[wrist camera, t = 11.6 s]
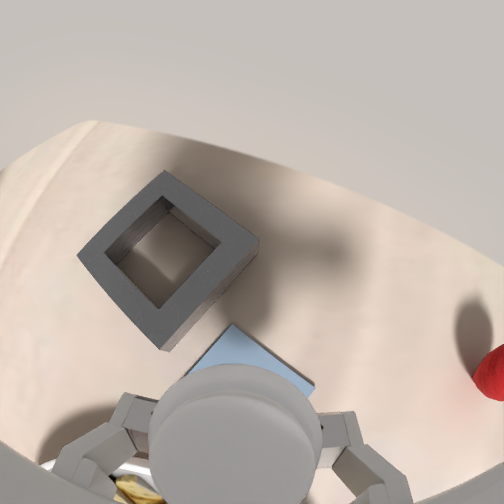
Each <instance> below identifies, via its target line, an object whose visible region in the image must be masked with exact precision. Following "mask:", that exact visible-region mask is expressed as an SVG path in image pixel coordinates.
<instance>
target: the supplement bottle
mask: <svg viewBox="0 0 504 504" xmlns="http://www.w3.org/2000/svg"><path fill="white" fill-rule="evenodd" d="M148 441H149V449H150V450H149V468H150V474H151V477H152V480H153V482H154V485H155V487H156V489H157V490H158V492H159V493H160V495H161V496H162V498H163V499H164V500H165V501H166V502H167V503H168V504H300V503H301V502H302V501H303V499H304V498H305V496H306V495H307V493H308V491H309V489H310V487H311V485H312V482H313V478H314V475H315V470H316V468H317V466H318V463H319V460H320V457H321V452H322V430H321V425H320V421H319V418H318V416H317V413H316V411H315V409H314V408H313V406H312V404H311V403H310V401H309V400H308V399H307V397H306V396H305V395H304V394H303V393H302V392H301V391H300V390H299V389H298V388H297V387H296V386H295V385H294V384H292V383H291V382H290V381H288V380H287V379H285V378H283V377H282V376H280V375H278V374H276V373H274V372H271V371H269V370H266V369H263V368H260V367H256V366H252V365H247V364H219V365H214V366H210V367H206V368H203V369H200V370H197V371H195V372H193V373H190V374H188V375H187V376H185V377H183V378H182V379H180V380H179V381H177V382H176V383H175V384H173V385H172V386H171V387H170V388H169V389H168V390H167V391H166V392H165V393H164V395H163V396H162V397H161V398H160V400H159V401H158V403H157V405H156V407H155V409H154V411H153V414H152V417H151V420H150V424H149V432H148Z"/></svg>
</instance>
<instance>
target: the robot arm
mask: <svg viewBox="0 0 504 504" xmlns="http://www.w3.org/2000/svg"><path fill="white" fill-rule="evenodd" d="M158 401H159V400H156V399H151V398H147V397H142V396H138V395H135V394H130V393H126V392H125V393H124V394H123V395H122V396H121V398H120V400H119V402H118V404H117V407H116V409H115V411H114V413H113V415H112V417H111V419H110V422H109V423H107V422H105V423H103V424H102V425H100V426H98V427H97V428H95V429H93V430H92V431H90V432H88V433H86V434H85V435H83V436H81V437H79V438H78V439H76V440H74V441H72V442H71V443H69V444H67V445H65V446H63V447H62V449H61V451H60V453H59V455H58V457H57V459H56V461H55V463H54V465H53V468H52V470H51V472H50V471H48V470H46V469H45V468H43V467H41V466H39V465H38V464H36V463H34V462H33V461H31V460H29V459H28V458H26V457H25V456H23V455H21V454H20V453H18V452H17V451H15V450H14V449H12V448H11V447H9V446H8V445H7V444H5V443H4V442H2V441H1V440H0V504H124V503H121V502H118V501H116V500H114V497H115V493H116V490H117V487H116V485H115V484H114V483H113V482H112V481H111V480H110V478H109V477H108V476H109V475H110V474H111V473H113V472H114V471H115V470H116V469H118V468H119V467H120V466H121V465H123V464H124V463H125V462H126V461H128V460H129V459H130V458H131V457H132V456H134V455H135V454H136V453H137V451H139V452H143V453H148V454H149V450H150V449H149V441H148V432H149V424H150V420H151V417H152V414H153V411H154V409H155V407H156V405H157V403H158ZM317 416H318V418H319V421H320V425H321V430H322V452H321V457H320V460H319V463H318V466H317V468H331V467H332V468H331V469H332V470H333V471H334V472H335V473H336V474H337V476H338V477H339V478H340V479H341V480H342V481H343V483H344V484H345V485H346V486H347V487H348V488H349V489H350V491H351V492H352V493H353V494H354V495H355V496H356V497H357V498H355V499H354V500H353V501H352V502H351V503H349V504H504V462H502V463H499V464H498V465H496V466H494V467H492V468H491V469H489V470H487V471H485V472H484V473H482V474H480V475H478V476H476V477H474V478H472V479H470V480H468V481H466V482H464V483H462V484H460V485H458V486H456V487H453V488H451V489H449V490H447V491H444V492H442V493H439V494H437V495H434V496H432V497H429V498H427V499H424V500H421V501H418V502H415V503H413V499H412V496H411V492H410V488H409V485H408V481H407V478H406V476H405V475H404V474H402V473H401V472H400V471H399V470H397V469H396V468H395V467H394V466H393V465H391V464H390V463H389V462H388V461H387V460H385V459H384V458H383V457H382V456H381V455H379V454H378V453H377V452H376V451H375V450H374V449H372V448H371V447H370V446H369V445H368V444H364V443H363V439H362V435H361V431H360V428H359V424H358V420H357V417H356V413H355V412H354V411H347V412H328V413H317Z"/></svg>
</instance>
